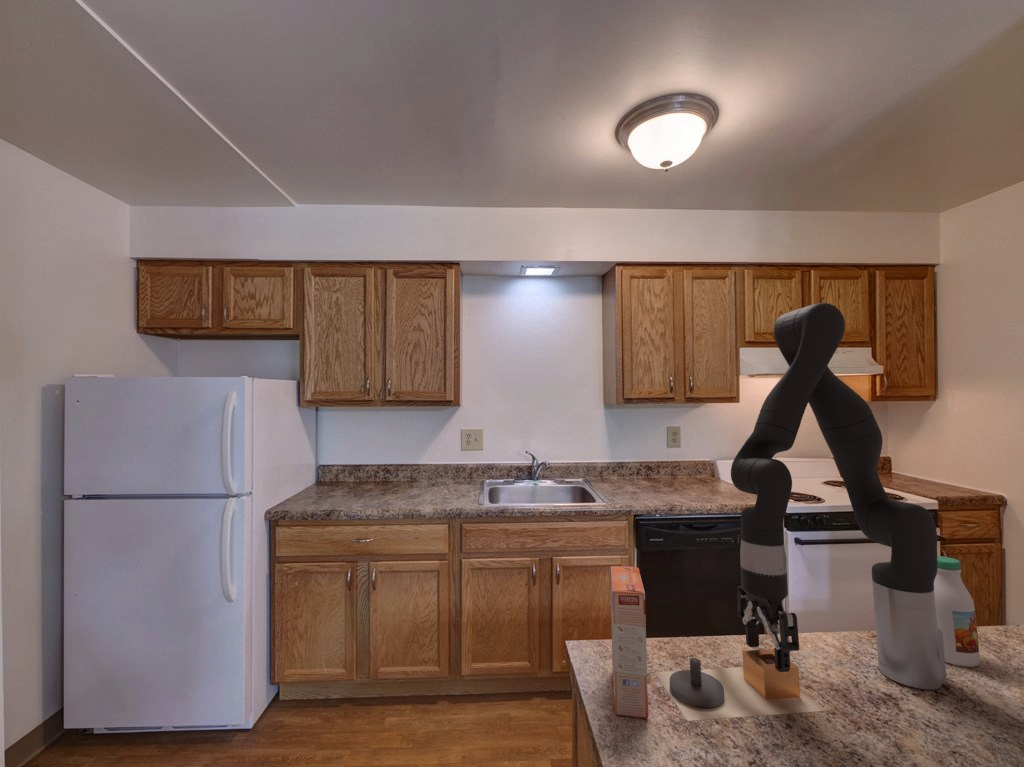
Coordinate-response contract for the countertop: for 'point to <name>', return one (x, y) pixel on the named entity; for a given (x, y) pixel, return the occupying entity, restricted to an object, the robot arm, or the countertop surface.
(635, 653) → the cracker box
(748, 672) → the hollow wooden cube
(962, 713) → the countertop surface
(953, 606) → the milk bottle
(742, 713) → the board
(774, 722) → the countertop surface
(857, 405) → the robot arm
